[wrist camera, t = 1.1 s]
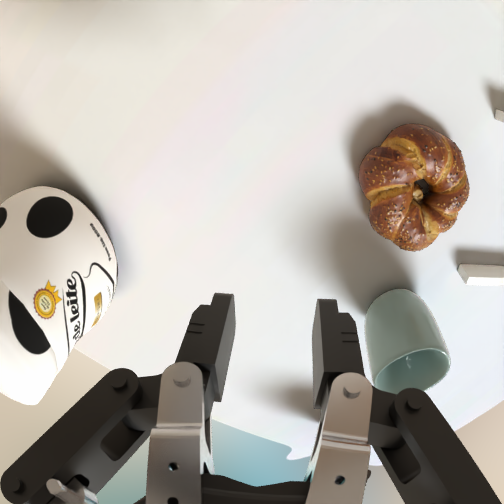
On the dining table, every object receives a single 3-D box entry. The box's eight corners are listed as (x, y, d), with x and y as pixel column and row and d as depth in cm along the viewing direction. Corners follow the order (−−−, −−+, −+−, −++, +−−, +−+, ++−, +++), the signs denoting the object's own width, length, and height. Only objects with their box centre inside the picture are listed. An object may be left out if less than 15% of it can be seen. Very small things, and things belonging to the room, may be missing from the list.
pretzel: (453, 237, 28) (468, 257, 25) (357, 245, 30) (364, 267, 27) (463, 123, 22) (484, 132, 19) (353, 122, 24) (362, 130, 21)
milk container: (150, 297, 36) (86, 427, 21) (54, 302, 40) (-10, 395, 24) (94, 157, 28) (-43, 253, 12) (1, 195, 31) (-96, 274, 16)
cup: (406, 265, 30) (437, 334, 22) (432, 307, 33) (459, 372, 24) (346, 303, 34) (358, 376, 25) (378, 339, 36) (393, 407, 28)
